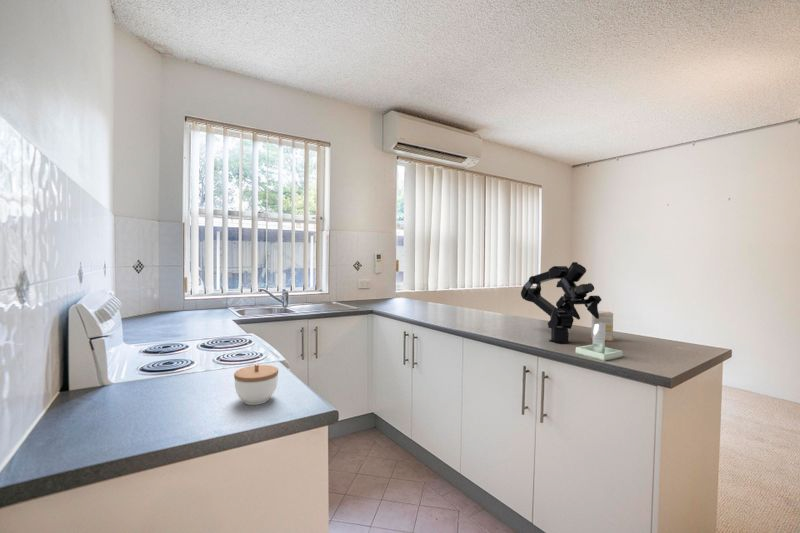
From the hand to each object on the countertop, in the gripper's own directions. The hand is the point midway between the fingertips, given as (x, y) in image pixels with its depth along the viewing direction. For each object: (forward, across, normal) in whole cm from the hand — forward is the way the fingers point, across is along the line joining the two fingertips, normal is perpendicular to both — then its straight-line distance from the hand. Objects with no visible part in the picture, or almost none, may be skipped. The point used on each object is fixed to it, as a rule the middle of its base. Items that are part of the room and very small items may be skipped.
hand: (588, 318), depth 148 cm
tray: (+14, 0, +6) cm, 15 cm away
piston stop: (+13, 0, +5) cm, 14 cm away
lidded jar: (+25, -124, -6) cm, 126 cm away
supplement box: (-2, +23, +22) cm, 31 cm away
